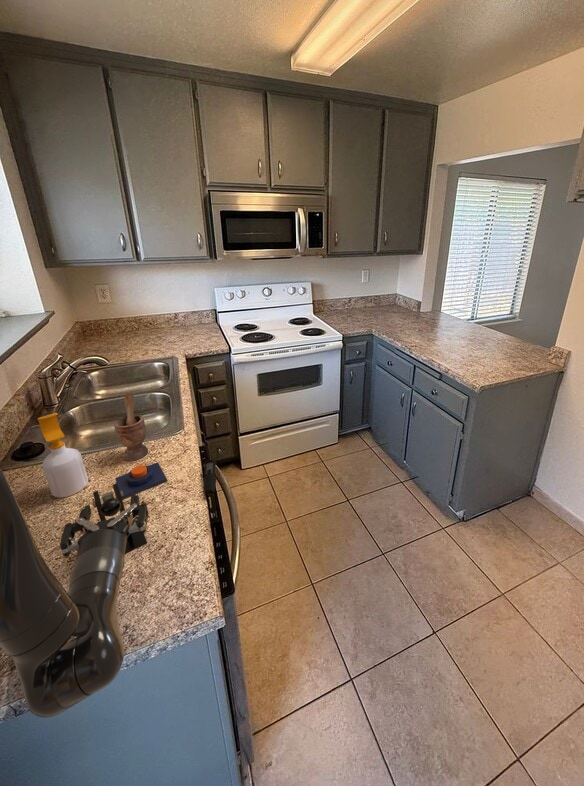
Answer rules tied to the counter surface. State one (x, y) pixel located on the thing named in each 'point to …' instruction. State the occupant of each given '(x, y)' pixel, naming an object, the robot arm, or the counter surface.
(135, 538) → the switch bracket
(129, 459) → the mortar and pestle
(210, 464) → the electric trimmer
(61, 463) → the soap bottle
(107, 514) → the switch lever
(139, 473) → the button
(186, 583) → the counter surface
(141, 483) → the control block
